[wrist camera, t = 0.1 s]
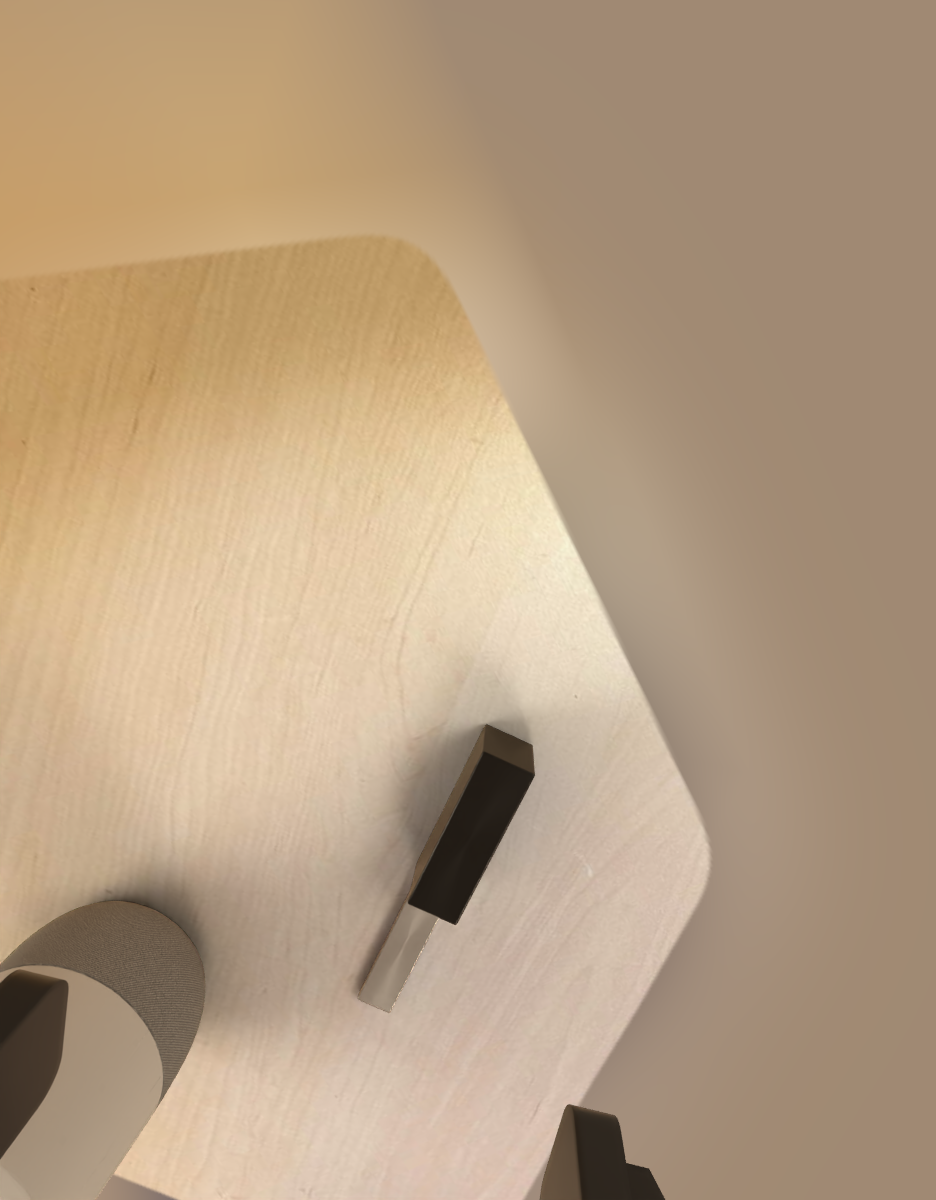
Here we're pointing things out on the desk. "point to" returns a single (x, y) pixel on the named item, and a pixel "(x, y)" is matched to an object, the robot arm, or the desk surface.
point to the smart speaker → (104, 1043)
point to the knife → (453, 857)
